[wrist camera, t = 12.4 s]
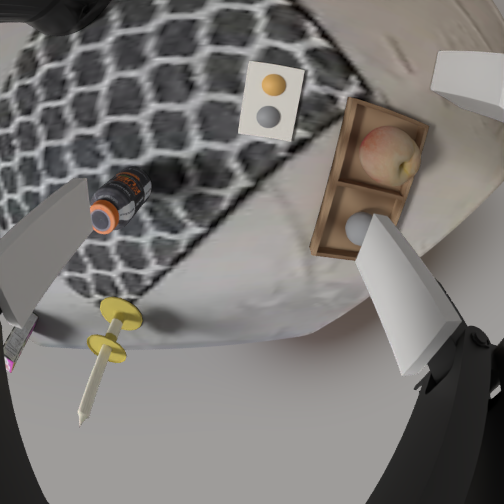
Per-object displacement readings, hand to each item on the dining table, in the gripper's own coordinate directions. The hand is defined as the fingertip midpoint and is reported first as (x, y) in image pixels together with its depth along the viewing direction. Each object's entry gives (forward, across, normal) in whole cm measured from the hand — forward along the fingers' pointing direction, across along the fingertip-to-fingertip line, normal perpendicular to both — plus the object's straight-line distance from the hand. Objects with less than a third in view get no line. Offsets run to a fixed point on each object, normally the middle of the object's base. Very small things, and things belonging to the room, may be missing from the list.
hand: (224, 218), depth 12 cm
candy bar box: (+27, -54, -51) cm, 79 cm away
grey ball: (+26, +19, -11) cm, 34 cm away
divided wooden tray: (+27, +19, -5) cm, 33 cm away
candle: (+27, -21, -39) cm, 52 cm away
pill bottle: (+27, -15, -10) cm, 32 cm away
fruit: (+26, +19, +1) cm, 32 cm away
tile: (+27, +3, +4) cm, 27 cm away
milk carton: (+27, +29, +16) cm, 43 cm away
